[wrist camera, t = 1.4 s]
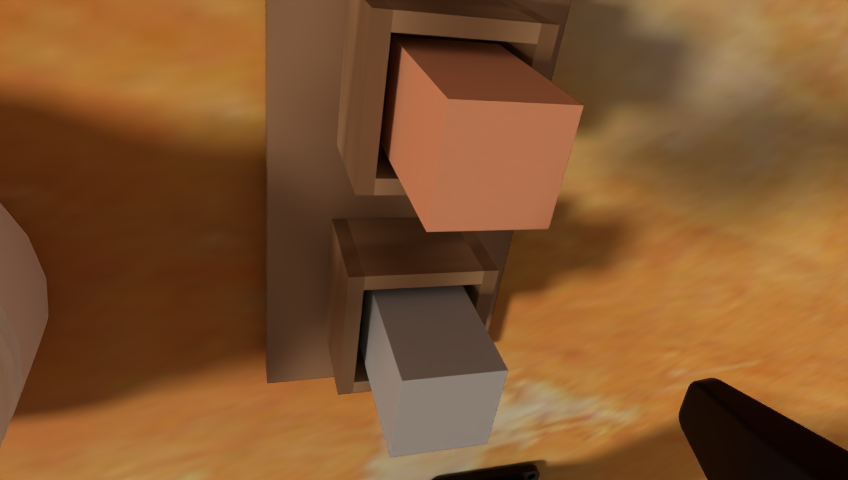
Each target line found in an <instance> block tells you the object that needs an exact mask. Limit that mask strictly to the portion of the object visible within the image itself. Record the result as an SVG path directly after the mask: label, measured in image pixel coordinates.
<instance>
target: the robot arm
mask: <svg viewBox="0 0 848 480" xmlns="http://www.w3.org/2000/svg"><path fill="white" fill-rule="evenodd" d="M679 422H680V425H681V428H682V430H683V432H684V434H685V436H686V438H687V440H688V442H689V444H690V446H691V448H692V450H693V452H694V454H695V456H696V458H697V460H698V462H699V464H700V465H701V467H702V469H703V471H704V473H705V475H706V477H707V479H708V480H848V451H847V450H845V449H843V448H841V447H840V446H838V445H836V444H834V443H832V442H831V441H829V440H827V439H825V438H823V437H822V436H820V435H818V434H816V433H814V432H813V431H811V430H809V429H807V428H805V427H804V426H802V425H800V424H798V423H796V422H795V421H793V420H791V419H789V418H787V417H786V416H784V415H782V414H780V413H778V412H777V411H775V410H773V409H771V408H769V407H768V406H766V405H764V404H762V403H760V402H759V401H757V400H755V399H753V398H751V397H750V396H748V395H746V394H744V393H742V392H741V391H739V390H737V389H735V388H733V387H732V386H730V385H728V384H726V383H724V382H723V381H721V380H719V379H716V378H707V379H702V380H698V381H694V382H692V383H691V384H690V385H689V387H688V390H687V392H686V395H685V397H684V400H683V403H682V405H681V408H680V411H679ZM539 474H540V473H539V471H538V469H537V467H536V466H535V465H527V466H521V467H515V468H508V469H502V470H495V471H489V472H482V473H476V474H469V475H463V476H457V477H450V478H444V479H437V480H538V478H539Z"/></svg>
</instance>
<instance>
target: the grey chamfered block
mask: <svg viewBox="0 0 848 480" xmlns="http://www.w3.org/2000/svg"><path fill="white" fill-rule="evenodd" d="M359 344H360V348H361V352H362V356H363V360H364V363H365V367H366V371H367V375H368V378H369V382H370V386H371V390H372V393H373V397H374V401H375V405H376V408H377V412H378V416H379V420H380V423H381V427H382V431H383V435H384V438H385V442H386V446H387V450H388V454H389V457H397V456H404V455H411V454H419V453H426V452H433V451H440V450H447V449H454V448H461V447H469V446H476V445H483V444H487V442H488V439H489V435H490V432H491V428H492V425H493V421H494V418H495V414H496V411H497V407H498V404H499V400H500V397H501V393H502V390H503V386H504V383H505V379H506V376H507V373H508V369H507V367H506V365H505V363H504V362H503V360H502V358H501V356H500V354H499V352H498V350H497V349H496V347H495V345H494V343H493V341H492V339H491V337H490V336H489V334H488V332H487V330H486V328H485V326H484V324H483V323H482V321H481V319H480V317H479V315H478V313H477V311H476V310H475V308H474V306H473V304H472V302H471V300H470V298H469V297H468V295H467V293H466V291H465V289H464V287H463V285H454V286H435V287H416V288H397V289H378V290H365V296H364V305H363V314H362V324H361V333H360V342H359Z"/></svg>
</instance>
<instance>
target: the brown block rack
mask: <svg viewBox="0 0 848 480" xmlns="http://www.w3.org/2000/svg"><path fill="white" fill-rule="evenodd" d="M570 3H571V0H266V372H267V383H276V382H286V381H296V380H307V379H317V378H328V377H335V382H336V387H337V392H338V395H340V394H350V393H359V392H369V391H372V390H371V386H370V382H369V378H368V375H367V371H366V367H365V363H364V360H363V356H362V352H361V348H360V344H359V342H360V333H361V324H362V314H363V305H364V296H365V290H378V289H397V288H416V287H435V286H454V285H463V287H464V289H465V291H466V293H467V295H468V297H469V298H470V300H471V302H472V304H473V306H474V308H475V310H476V311H477V313H478V315H479V317H480V319H481V321H482V323H483V324H484V326H485V328H486V330H487V332H488V330H489V326H490V322H491V318H492V314H493V310H494V306H495V302H496V298H497V294H498V290H499V286H500V282H501V278H502V274H503V270H504V266H505V262H506V258H507V254H508V250H509V246H510V242H511V238H512V234H513V230H487V231H444V232H426V230H425V228H424V226H423V224H422V222H421V221H420V219H419V217H418V215H417V213H416V211H415V209H414V207H413V205H412V203H411V201H410V199H409V197H408V196H407V194H406V192H405V190H404V188H403V186H402V184H401V182H400V180H399V178H398V176H397V174H396V172H395V170H394V169H393V167H392V165H391V163H390V161H389V159H388V157H387V155H386V153H385V151H384V149H383V147H382V145H381V137H382V128H383V119H384V109H385V100H386V91H387V81H388V72H389V63H390V53H391V44H392V36H401V37H414V38H426V39H439V40H452V41H464V42H477V43H490V44H499V45H501V46H502V47H504V48H505V49H506V50H508V51H509V52H510V53H512V54H513V55H515V56H516V57H517V58H519V59H520V60H522V61H523V62H524V63H526V64H527V65H529V66H530V67H531V68H533V69H534V70H535V71H537V72H538V73H540V74H541V75H542V76H544V77H545V78H547V79H548V80H549V81H551V79H552V75H553V71H554V67H555V63H556V59H557V55H558V51H559V47H560V43H561V39H562V35H563V31H564V27H565V23H566V19H567V15H568V11H569V7H570Z"/></svg>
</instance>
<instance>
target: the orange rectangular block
mask: <svg viewBox="0 0 848 480" xmlns="http://www.w3.org/2000/svg"><path fill="white" fill-rule="evenodd" d="M583 107H584V105H583V104H581V103H580V102H578V101H577V100H576V99H574V98H573V97H572V96H570V95H569V94H567V93H566V92H565V91H563V90H562V89H560V88H559V87H558V86H556V85H555V84H553V83H552V82H551V81H549V80H548V79H547V78H545V77H544V76H542V75H541V74H540V73H538V72H537V71H535V70H534V69H533V68H531V67H530V66H529V65H527V64H526V63H524V62H523V61H522V60H520V59H519V58H517V57H516V56H515V55H513V54H512V53H510V52H509V51H508V50H506V49H505V48H504V47H502V46H501V45H499V44H490V43H477V42H464V41H452V40H439V39H426V38H414V37H401V36H392V44H391V53H390V63H389V72H388V81H387V91H386V100H385V109H384V119H383V128H382V137H381V145H382V147H383V149H384V151H385V153H386V155H387V157H388V159H389V161H390V163H391V165H392V167H393V169H394V170H395V172H396V174H397V176H398V178H399V180H400V182H401V184H402V186H403V188H404V190H405V192H406V194H407V196H408V197H409V199H410V201H411V203H412V205H413V207H414V209H415V211H416V213H417V215H418V217H419V219H420V221H421V222H422V224H423V226H424V228H425V230H426V232H444V231H487V230H529V229H549V226H550V222H551V219H552V215H553V212H554V208H555V205H556V201H557V198H558V194H559V191H560V187H561V184H562V180H563V177H564V173H565V170H566V166H567V163H568V159H569V156H570V153H571V149H572V146H573V142H574V139H575V135H576V132H577V128H578V125H579V121H580V118H581V114H582V111H583Z"/></svg>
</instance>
